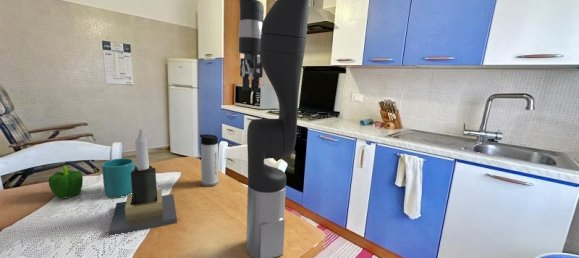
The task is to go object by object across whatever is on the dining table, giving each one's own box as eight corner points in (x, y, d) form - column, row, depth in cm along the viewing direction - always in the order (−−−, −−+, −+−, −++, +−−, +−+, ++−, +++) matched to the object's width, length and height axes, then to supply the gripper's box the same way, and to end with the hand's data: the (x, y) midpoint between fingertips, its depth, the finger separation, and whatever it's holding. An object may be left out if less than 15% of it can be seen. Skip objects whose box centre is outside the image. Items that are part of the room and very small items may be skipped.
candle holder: (176, 222, 70) (176, 205, 69) (108, 237, 62) (106, 217, 61) (173, 198, 84) (172, 183, 83) (117, 207, 76) (115, 191, 75)
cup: (149, 187, 91) (147, 158, 89) (116, 201, 80) (113, 168, 78) (131, 182, 94) (129, 154, 92) (98, 195, 83) (95, 164, 81)
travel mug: (200, 181, 98) (199, 133, 94) (216, 179, 101) (216, 132, 97) (201, 187, 93) (200, 137, 89) (219, 185, 95) (219, 136, 91)
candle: (159, 206, 75) (155, 127, 70) (148, 215, 70) (142, 131, 65) (143, 205, 75) (138, 126, 70) (131, 213, 70) (125, 130, 65)
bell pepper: (79, 199, 80) (75, 170, 78) (46, 202, 76) (41, 173, 74) (88, 188, 87) (85, 162, 85) (59, 191, 84) (55, 163, 82)
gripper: (272, 36, 70) (269, 93, 73) (254, 41, 82) (253, 90, 86) (247, 33, 67) (245, 92, 70) (232, 39, 79) (232, 89, 82)
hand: (250, 91), depth 78 cm, fingers open, 8 cm apart
